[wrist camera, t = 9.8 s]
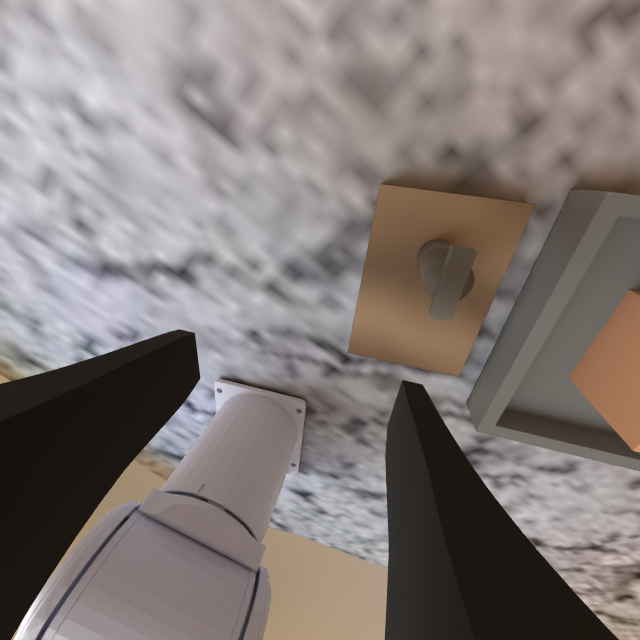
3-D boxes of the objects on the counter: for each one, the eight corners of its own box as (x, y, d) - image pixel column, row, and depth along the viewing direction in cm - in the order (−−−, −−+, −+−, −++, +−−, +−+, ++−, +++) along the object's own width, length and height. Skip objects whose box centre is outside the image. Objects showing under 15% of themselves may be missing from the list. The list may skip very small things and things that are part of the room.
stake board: (454, 365, 18) (479, 436, 13) (350, 342, 19) (335, 401, 14) (524, 202, 14) (603, 217, 9) (380, 183, 15) (375, 187, 10)
